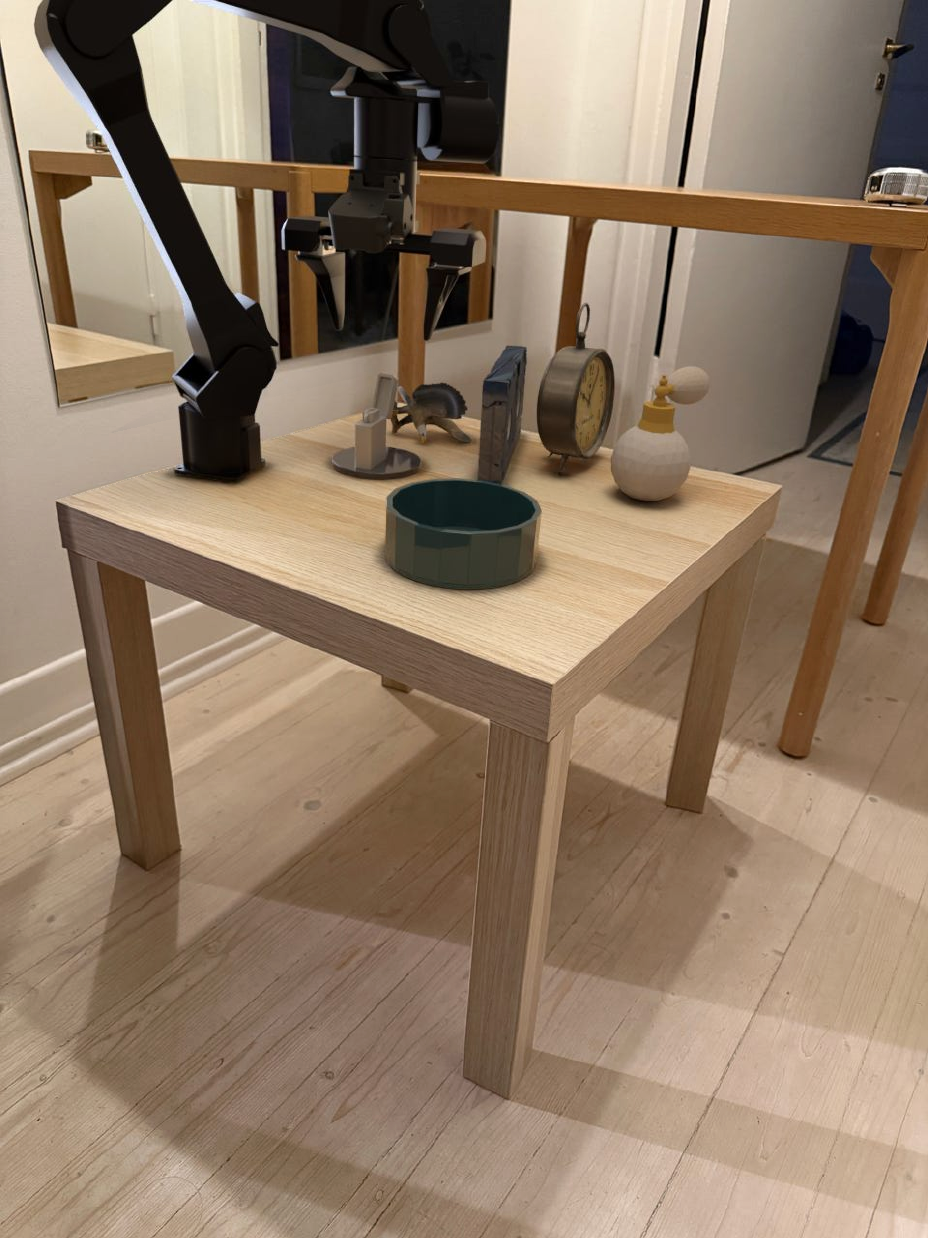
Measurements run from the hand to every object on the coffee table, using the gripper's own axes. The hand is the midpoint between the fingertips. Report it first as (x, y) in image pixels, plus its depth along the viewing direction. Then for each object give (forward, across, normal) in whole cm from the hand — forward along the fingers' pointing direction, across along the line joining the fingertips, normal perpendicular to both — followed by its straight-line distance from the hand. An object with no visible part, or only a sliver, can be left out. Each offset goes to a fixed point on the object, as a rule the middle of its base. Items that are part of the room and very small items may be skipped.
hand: (382, 334), depth 90 cm
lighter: (+12, +1, -4) cm, 12 cm away
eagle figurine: (+12, +3, +7) cm, 14 cm away
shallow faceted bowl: (+12, +15, -23) cm, 30 cm away
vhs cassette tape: (+12, +12, +4) cm, 18 cm away
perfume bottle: (+12, +28, -1) cm, 31 cm away
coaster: (+12, +1, -4) cm, 13 cm away
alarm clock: (+12, +19, +5) cm, 23 cm away
